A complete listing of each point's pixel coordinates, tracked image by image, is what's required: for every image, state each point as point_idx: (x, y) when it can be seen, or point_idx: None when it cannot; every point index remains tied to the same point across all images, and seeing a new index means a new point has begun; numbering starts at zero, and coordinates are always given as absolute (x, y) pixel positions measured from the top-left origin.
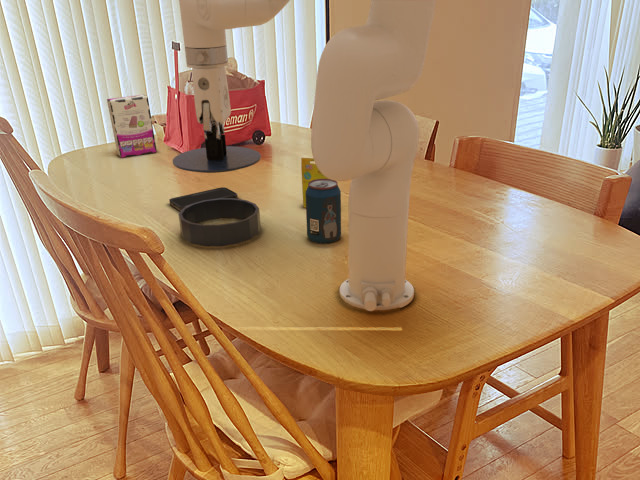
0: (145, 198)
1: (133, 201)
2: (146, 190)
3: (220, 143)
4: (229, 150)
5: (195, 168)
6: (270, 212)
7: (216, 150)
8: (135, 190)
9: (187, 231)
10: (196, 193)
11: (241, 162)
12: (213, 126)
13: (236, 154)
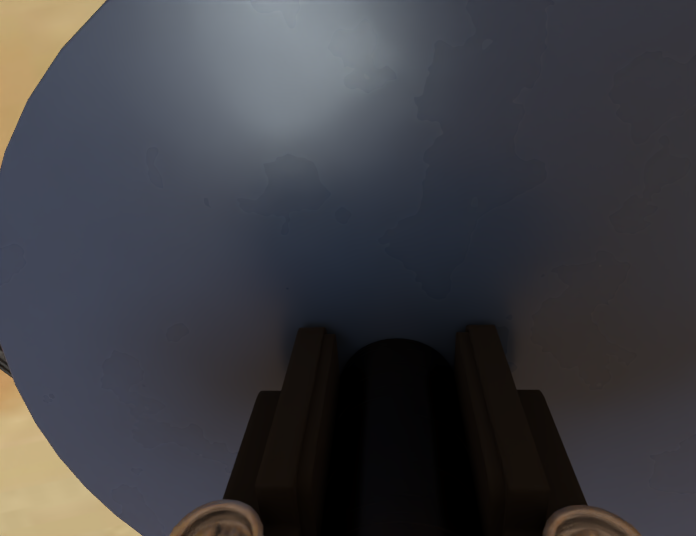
0: (76, 493)
1: (111, 515)
2: (7, 506)
3: (536, 457)
4: (144, 324)
5: None
6: (76, 9)
7: (551, 436)
8: (19, 530)
9: None
10: (4, 367)
11: (616, 110)
12: None
13: (276, 233)
